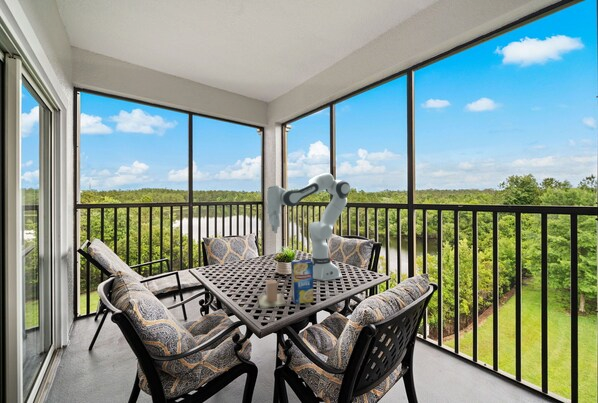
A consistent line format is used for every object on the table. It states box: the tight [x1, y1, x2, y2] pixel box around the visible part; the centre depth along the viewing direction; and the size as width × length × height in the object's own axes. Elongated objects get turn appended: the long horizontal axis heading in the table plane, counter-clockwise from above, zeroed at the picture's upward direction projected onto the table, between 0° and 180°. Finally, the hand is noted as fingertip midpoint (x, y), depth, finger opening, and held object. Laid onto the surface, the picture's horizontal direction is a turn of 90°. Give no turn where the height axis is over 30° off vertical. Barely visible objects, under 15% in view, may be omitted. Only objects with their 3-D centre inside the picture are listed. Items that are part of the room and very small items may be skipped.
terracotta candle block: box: [265, 279, 278, 302], centre depth 143 cm, size 5×5×10 cm
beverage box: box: [290, 259, 314, 305], centre depth 144 cm, size 7×11×22 cm, turn 104°
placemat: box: [257, 292, 287, 310], centre depth 143 cm, size 14×14×1 cm
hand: (274, 232), depth 166 cm, fingers open, 8 cm apart
